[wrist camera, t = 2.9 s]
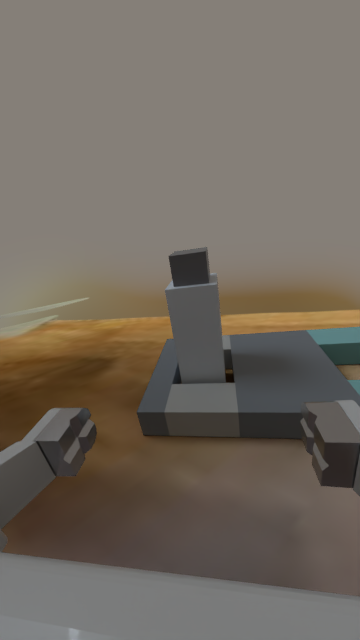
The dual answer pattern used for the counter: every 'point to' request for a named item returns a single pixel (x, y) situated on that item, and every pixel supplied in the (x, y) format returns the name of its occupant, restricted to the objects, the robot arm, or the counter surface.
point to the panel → (253, 385)
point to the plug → (196, 318)
